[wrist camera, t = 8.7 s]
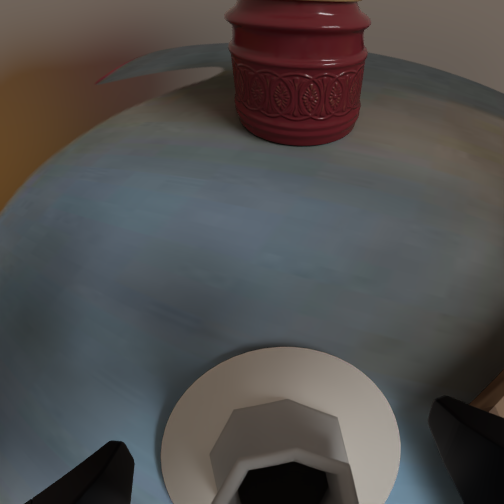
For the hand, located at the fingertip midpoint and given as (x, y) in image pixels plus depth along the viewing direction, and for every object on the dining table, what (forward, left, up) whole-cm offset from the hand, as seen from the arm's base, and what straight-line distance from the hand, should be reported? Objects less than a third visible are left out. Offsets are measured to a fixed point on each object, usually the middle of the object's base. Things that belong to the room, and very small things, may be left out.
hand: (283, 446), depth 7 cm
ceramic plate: (0, -1, -9) cm, 9 cm away
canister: (+15, +26, -9) cm, 31 cm away
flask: (-1, -1, -8) cm, 8 cm away
